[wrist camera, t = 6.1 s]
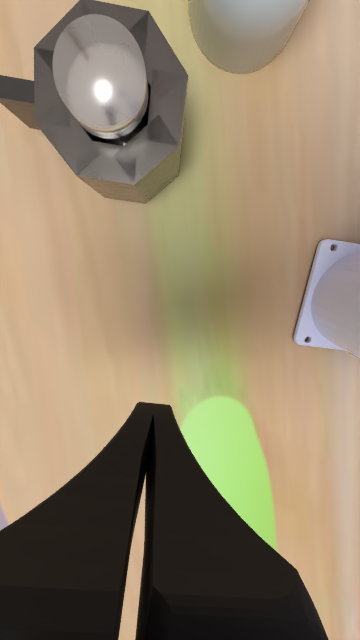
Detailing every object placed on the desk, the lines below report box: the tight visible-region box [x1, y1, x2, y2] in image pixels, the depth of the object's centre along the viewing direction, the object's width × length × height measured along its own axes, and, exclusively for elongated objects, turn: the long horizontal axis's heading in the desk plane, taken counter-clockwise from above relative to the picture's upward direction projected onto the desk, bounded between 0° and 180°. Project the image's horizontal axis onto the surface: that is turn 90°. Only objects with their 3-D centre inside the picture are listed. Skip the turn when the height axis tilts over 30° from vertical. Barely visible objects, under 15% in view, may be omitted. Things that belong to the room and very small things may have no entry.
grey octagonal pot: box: [0, 0, 188, 203], centre depth 14 cm, size 9×7×5 cm
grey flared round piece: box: [52, 14, 148, 146], centre depth 13 cm, size 4×4×6 cm
